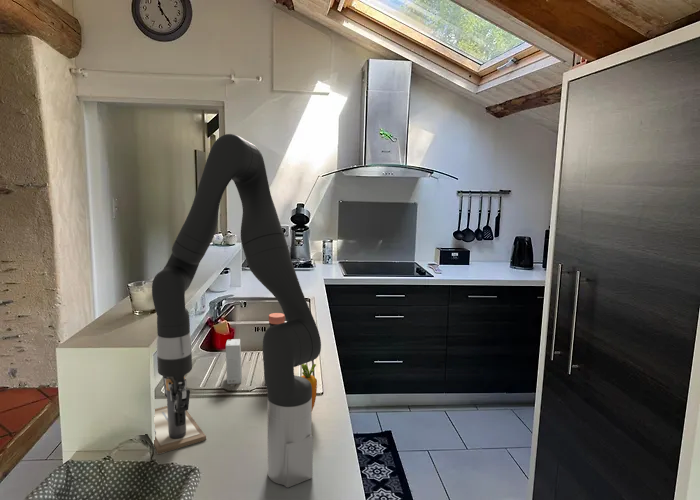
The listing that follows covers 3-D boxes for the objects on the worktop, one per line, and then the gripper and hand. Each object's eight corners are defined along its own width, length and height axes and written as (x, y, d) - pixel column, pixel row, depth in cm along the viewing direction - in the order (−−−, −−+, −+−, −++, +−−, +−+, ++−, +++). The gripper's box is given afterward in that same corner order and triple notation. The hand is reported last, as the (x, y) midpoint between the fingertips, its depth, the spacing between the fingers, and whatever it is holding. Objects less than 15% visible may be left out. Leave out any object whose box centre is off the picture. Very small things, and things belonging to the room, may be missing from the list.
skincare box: (241, 383, 145) (240, 345, 143) (226, 384, 144) (225, 346, 142) (242, 375, 151) (241, 338, 149) (227, 376, 150) (226, 338, 148)
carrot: (316, 412, 129) (317, 359, 126) (316, 422, 124) (316, 367, 121) (298, 412, 129) (298, 359, 126) (296, 422, 124) (297, 366, 121)
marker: (189, 435, 114) (187, 380, 112) (171, 441, 112) (168, 384, 109) (183, 428, 117) (181, 373, 115) (166, 433, 115) (163, 377, 113)
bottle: (276, 370, 155) (276, 310, 152) (292, 375, 152) (292, 314, 148) (261, 377, 150) (260, 315, 147) (277, 383, 146) (277, 319, 143)
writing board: (206, 439, 115) (205, 432, 114) (157, 454, 108) (156, 447, 108) (180, 405, 131) (180, 399, 130) (136, 417, 124) (136, 410, 124)
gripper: (200, 358, 108) (202, 429, 110) (181, 339, 119) (183, 404, 122) (166, 365, 103) (169, 439, 106) (149, 345, 115) (152, 412, 117)
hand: (177, 420), depth 114 cm, fingers closed on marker, 4 cm apart
